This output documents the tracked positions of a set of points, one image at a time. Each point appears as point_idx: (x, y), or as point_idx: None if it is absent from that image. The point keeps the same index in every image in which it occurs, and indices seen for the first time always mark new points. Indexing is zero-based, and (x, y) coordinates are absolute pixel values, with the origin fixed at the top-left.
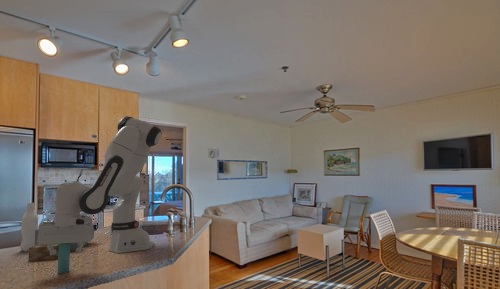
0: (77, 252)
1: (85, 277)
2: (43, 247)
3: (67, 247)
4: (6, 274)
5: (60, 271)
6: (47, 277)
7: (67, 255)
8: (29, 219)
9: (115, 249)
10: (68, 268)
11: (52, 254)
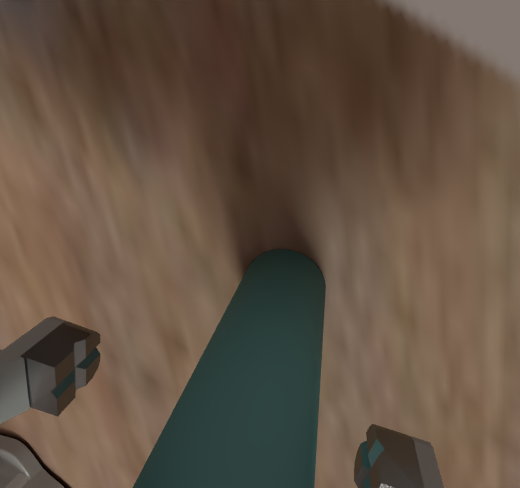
0: (69, 325)
1: (76, 29)
2: None
3: (158, 456)
4: None
5: (298, 263)
6: (396, 225)
7: (207, 353)
8: None
9: (26, 482)
10: (240, 282)
11: (393, 432)
